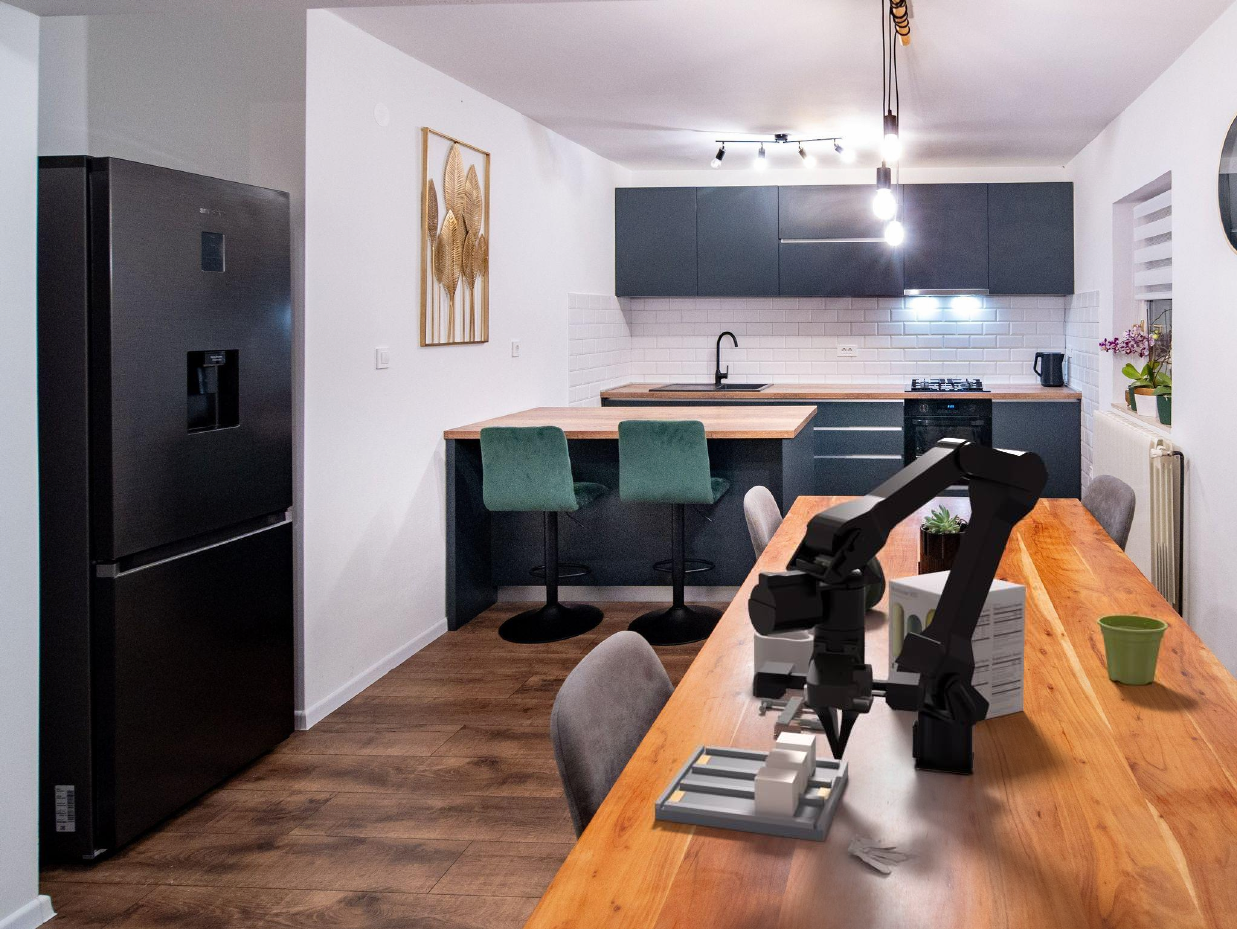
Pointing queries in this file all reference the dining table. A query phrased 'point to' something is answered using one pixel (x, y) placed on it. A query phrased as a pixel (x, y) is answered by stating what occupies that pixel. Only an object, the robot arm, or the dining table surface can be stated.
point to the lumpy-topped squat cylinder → (784, 649)
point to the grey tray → (748, 794)
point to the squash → (871, 591)
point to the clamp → (790, 716)
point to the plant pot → (1131, 647)
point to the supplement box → (991, 640)
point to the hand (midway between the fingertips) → (838, 758)
